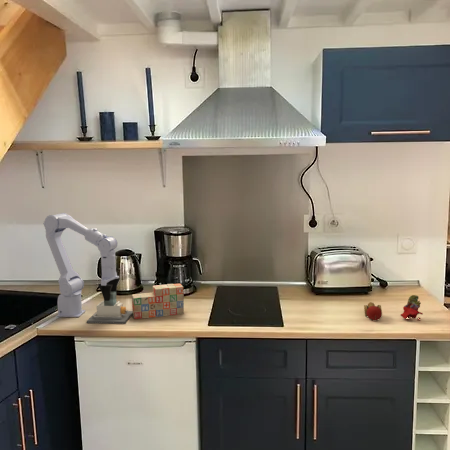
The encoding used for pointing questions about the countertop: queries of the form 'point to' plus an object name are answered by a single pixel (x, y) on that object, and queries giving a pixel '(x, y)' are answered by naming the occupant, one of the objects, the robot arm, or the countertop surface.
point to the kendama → (373, 311)
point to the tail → (111, 300)
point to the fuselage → (110, 309)
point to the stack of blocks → (159, 302)
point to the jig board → (110, 318)
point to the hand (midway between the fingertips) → (110, 297)
